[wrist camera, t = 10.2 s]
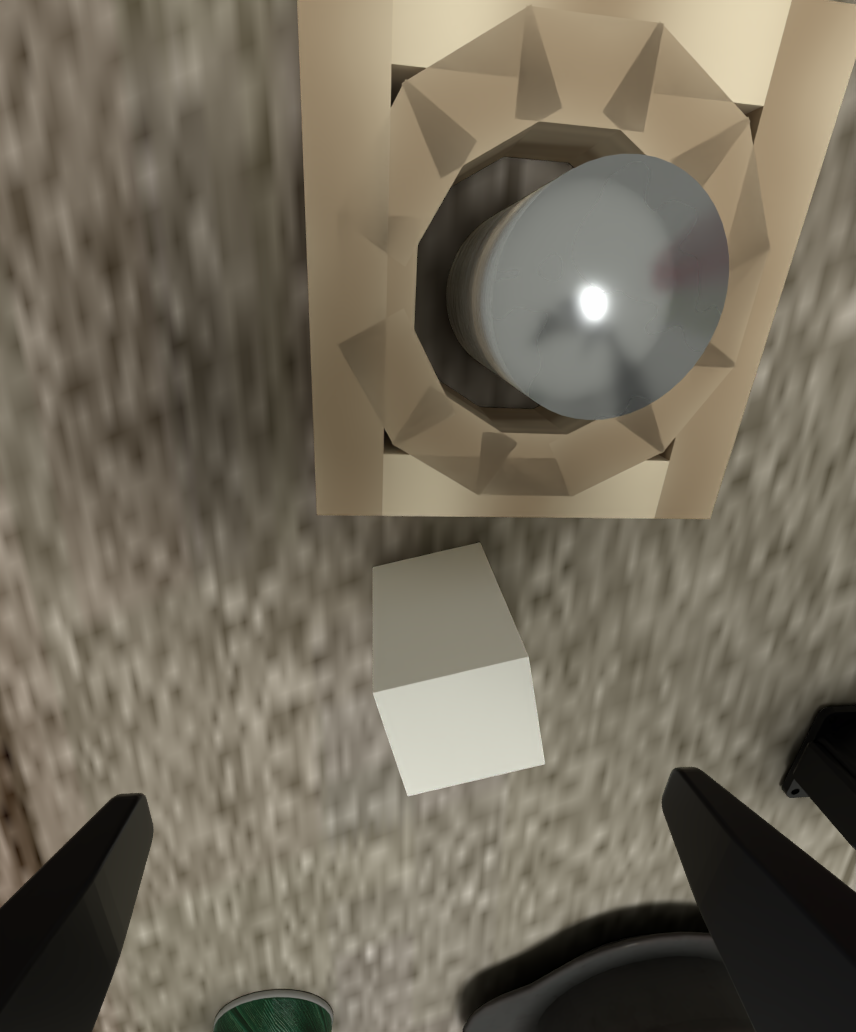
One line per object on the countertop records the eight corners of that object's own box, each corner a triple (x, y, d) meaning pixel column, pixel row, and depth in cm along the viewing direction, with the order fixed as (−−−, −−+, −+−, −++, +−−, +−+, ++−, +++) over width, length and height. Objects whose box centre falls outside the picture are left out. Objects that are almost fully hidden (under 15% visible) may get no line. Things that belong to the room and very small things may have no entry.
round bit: (607, 214, 16) (762, 165, 10) (579, 375, 18) (691, 423, 12) (452, 201, 15) (507, 140, 9) (441, 369, 17) (480, 416, 11)
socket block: (764, 67, 15) (872, 6, 12) (656, 482, 20) (710, 518, 17) (312, 11, 13) (294, -76, 10) (326, 476, 19) (316, 515, 15)
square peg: (480, 541, 20) (528, 656, 14) (495, 629, 22) (545, 764, 16) (372, 567, 20) (372, 692, 14) (397, 651, 22) (407, 796, 16)
